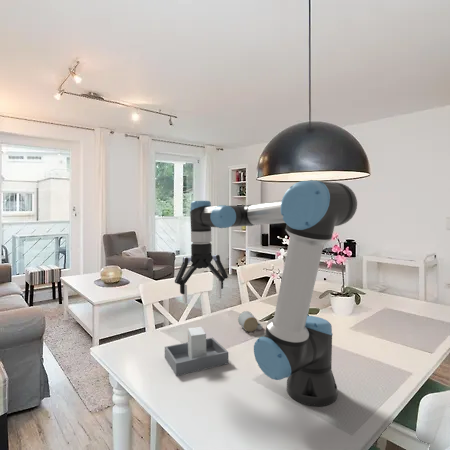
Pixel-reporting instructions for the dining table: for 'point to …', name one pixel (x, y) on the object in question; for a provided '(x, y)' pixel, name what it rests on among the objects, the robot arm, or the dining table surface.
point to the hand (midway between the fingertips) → (202, 300)
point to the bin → (184, 364)
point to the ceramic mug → (248, 321)
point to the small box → (196, 342)
